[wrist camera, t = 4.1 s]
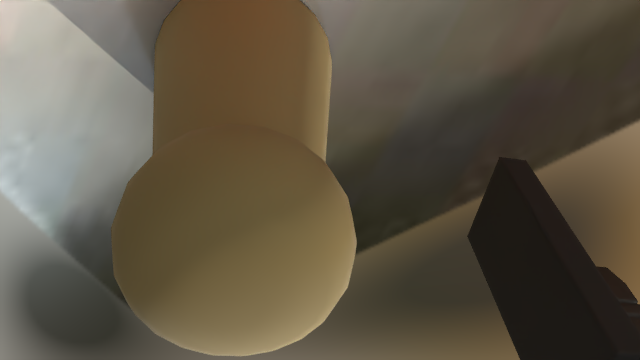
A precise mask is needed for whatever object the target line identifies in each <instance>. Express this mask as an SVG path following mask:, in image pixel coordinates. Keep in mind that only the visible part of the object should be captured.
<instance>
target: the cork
mask: <svg viewBox="0 0 640 360" xmlns="http://www.w3.org/2000/svg"><path fill="white" fill-rule="evenodd" d="M331 72H332V61H331V55H330V49H329V43H328V38H327V36H326V34H325V32H324V31H323V29H322V27H321V25H320V23H319V21H318V20H317V18H316V16H315V14H314V13H313V12H312V11H310V10H309V9H308V8H307V7H306V6H305V5H304V4H303V3H302V2H301V1H300V0H181V1H180V2H179V3H178V4H177V5H176V7H175V8H174V9H173V10H172V11H171V13H170V14H169V15H168V16H167V17H166V18H165V20H164V22H163V24H162V27H161V30H160V33H159V35H158V38H157V41H156V44H155V62H154V113H153V156H152V157H151V158H150V159H149V160H148V161H147V162H146V163H145V164H144V165H143V166H142V167H141V168H140V169H139V171H138V172H137V173H136V174H135V175H134V176H133V177H132V178H131V179H130V181H129V182H128V184H127V186H126V189H125V191H124V194H123V197H122V199H121V202H120V204H119V207H118V210H117V212H116V215H115V218H114V221H113V224H112V227H111V238H112V256H113V270H114V277H115V279H116V281H117V283H118V285H119V287H120V289H121V291H122V293H123V295H124V297H125V299H126V301H127V303H128V304H129V306H130V307H131V309H132V310H133V312H134V314H135V315H136V316H137V317H138V318H139V319H140V320H141V321H142V322H144V323H145V324H146V325H147V326H148V327H149V328H150V329H151V330H152V331H153V332H154V333H155V334H156V335H158V336H160V337H162V338H164V339H166V340H168V341H170V342H172V343H174V344H176V345H178V346H180V347H182V348H185V349H189V350H193V351H197V352H201V353H205V354H209V355H220V356H247V355H253V354H258V353H264V352H270V351H275V350H277V349H279V348H281V347H284V346H286V345H288V344H291V343H293V342H295V341H298V340H301V339H302V338H303V337H305V336H306V335H307V334H309V333H310V332H311V331H313V330H314V329H315V328H316V327H318V326H319V325H320V324H322V323H323V322H324V320H325V319H326V318H327V316H328V315H329V314H330V312H331V310H332V309H333V308H334V306H335V305H336V303H337V302H338V300H339V299H340V297H341V296H342V295H343V293H344V292H345V290H346V289H347V287H348V284H349V280H350V275H351V271H352V267H353V263H354V258H355V251H356V245H357V241H356V235H355V230H354V224H353V219H352V213H351V209H350V205H349V200H348V197H347V195H346V194H345V192H344V191H343V189H342V187H341V186H340V184H339V183H338V181H337V180H336V178H335V176H334V175H333V173H332V172H331V170H330V169H329V167H328V166H327V165H326V163H325V160H326V146H327V131H328V116H329V101H330V86H331Z"/></svg>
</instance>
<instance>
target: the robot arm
mask: <svg viewBox="0 0 640 360" xmlns="http://www.w3.org/2000/svg"><path fill="white" fill-rule="evenodd" d="M468 238H469V241H470V243H471V246H472V248H473V250H474V252H475V255H476V257H477V260H478V262H479V264H480V267H481V269H482V271H483V274H484V276H485V278H486V281H487V283H488V285H489V288H490V290H491V292H492V295H493V297H494V299H495V302H496V304H497V306H498V309H499V311H500V313H501V316H502V318H503V320H504V322H505V325H506V327H507V330H508V332H509V334H510V337H511V339H512V341H513V344H514V346H515V348H516V351H517V353H518V355H519V358H520V360H640V305H639V304H637V302H638V301H637V299H636V298H635V297H634V295H633V294H632V292H631V291H630V289H629V288H628V287H627V285H626V284H625V283H624V282H623V281H622V280H621V279H620V278H618V277H617V276H616V275H615V274H613V273H612V272H611V271H610V270H609V269H608V268H606V267H596V266H595V264H594V263H593V261H592V260H591V258H590V257H589V255H588V254H587V252H586V251H585V249H584V248H583V246H582V245H581V243H580V242H579V240H578V239H577V237H576V236H575V234H574V233H573V231H572V230H571V228H570V227H569V225H568V224H567V222H566V221H565V219H564V218H563V216H562V214H561V213H560V212H559V210H558V208H557V207H556V205H555V204H554V202H553V201H552V199H551V198H550V196H549V195H548V193H547V192H546V190H545V189H544V187H543V186H542V184H541V183H540V181H539V179H538V178H537V176H536V175H535V173H534V172H533V170H532V169H531V167H530V166H529V164H528V163H527V161H526V160H519V159H511V158H502V157H499V160H498V162H497V165H496V167H495V170H494V172H493V175H492V177H491V179H490V182H489V184H488V187H487V189H486V192H485V194H484V197H483V199H482V202H481V204H480V207H479V209H478V212H477V214H476V216H475V219H474V221H473V224H472V227H471V229H470V232H469V234H468Z"/></svg>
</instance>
